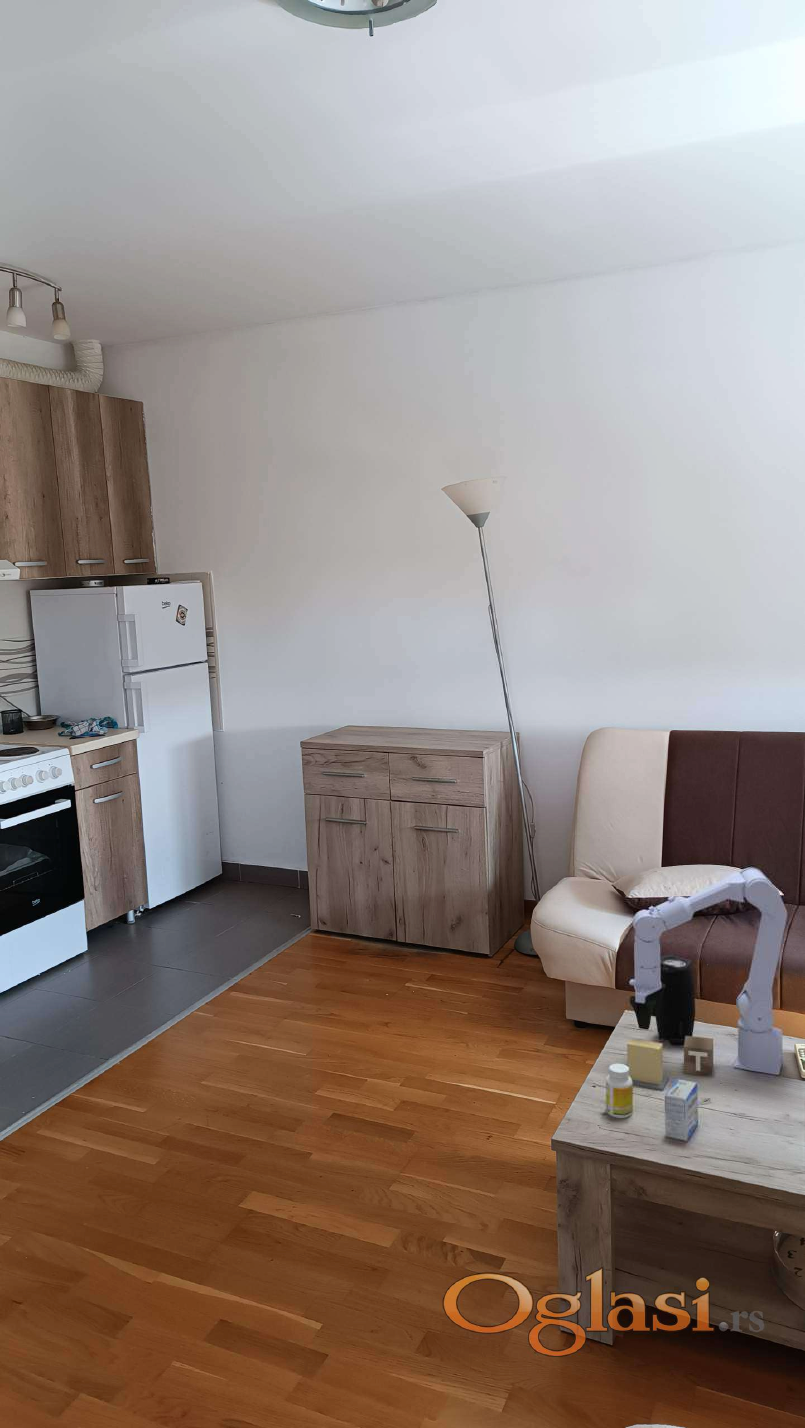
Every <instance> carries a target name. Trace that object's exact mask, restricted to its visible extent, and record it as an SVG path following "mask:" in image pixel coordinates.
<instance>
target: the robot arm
mask: <svg viewBox="0 0 805 1428" xmlns="http://www.w3.org/2000/svg"><path fill="white" fill-rule="evenodd" d="M744 898H746V900H747V902H748V903H750V904H751V905H753V906H754V907H755V908H757V909H758V910H759V911H760V912H761V917H760V923H759V927H758V932H757V938H756V942H755V947H754V950H753V951H754V952H753V956H752V961H751V965H750V970H749V975H748V979H747V981H746V982H745V983H744V985H743V988H742V991H741V992H740V993H739V995H738V996H737V997H736V1000H735V1001H736V1008H737V1010H738V1011H739V1012H740V1017H739V1019H738V1021H737V1056H736V1058H735V1061H734V1064H733V1067H734V1068H735V1069H741V1070H745V1071H753V1072H759V1073H765V1074H769V1075H770V1074H771V1075H776V1076H777V1075H779V1074H780V1072H781V1069H782V1064H783V1063H784V1055H783V1030H782V1029H780V1028H777V1027H775V1026H773V1025H774V1022H775V1016H774V1013H773V1004H774V1001H773V990H772V989H773V986H774V985H773V984H774V979H775V976H776V970H777V965H778V961H779V955H780V951H781V946H782V942H783V937H784V932H785V928H786V923H787V919H788V918H787V917H788V910H787V909H786V906H785V904H784V901H783V899H782V896H781V893H780V891H779V890H778V888H777V887H776V886H775V885H774V884H773V883H772V882H771V880H770V878H768V877H767V876H766V875H765V874H764V873H763V872H762V870H760V869H759V868H757V867H756V868H755V867H746V868H743V869H742V870H741V871H736V872H733V873H731V874H730V875H728V876H727V877H725V878H723V879H721V880H720V881H718V882H716V883H713V884H712V885H710V886H708V887H706V888H704V889H702V890H700V891H698V892H696V893H695V894H692V895H690V896H688V897H683V896H680V895H678V896H676V897H675V896H674V895H671V896H669V897H668V898H667V899H668V900H667V901H665V902H663V903H661V904H658V905H656V906H653V905H651V906H650V907H649V906H648V909H642V910H639V911H638V912H636V913H635V915H634V916H633V917H632V920H631V924H632V927H633V928H634V931H635V932H634V936H633V937H634V938H633V939H634V944H633V945H634V946H633V948H634V950H633V951H634V952H633V956H634V959H633V960H634V962H633V963H634V978H631V979H630V980H629V985H630V986H633V987H634V991H635V994H634V995H630V997H629V1004H630V1005H631V1007H632V1008H633V1011H634V1014H635V1017H636V1023H637V1025H638V1029H641V1030H647V1031H648V1030H650V1027H651V1021H652V1017H655V1018H656V1016H657V1014H658V1009H659V1004H660V999H661V996H662V993H663V991H664V989H665V984H661V972H660V958H661V944H660V938H661V936H662V934H663V932H667V931H669V930H672V929H674V928H676V927H678V926H680V925H683V924H685V923H686V922H689V921H691V920H692V918H693V916H694V913H695V912H698V911H700V910H702V909H706V908H709V907H710V906H713V905H715V904H718V903H720V902H721V903H722V902H723V901H726V900H730V901H731V900H732V901H734V902H735V901H736V902H740V903H744Z"/></svg>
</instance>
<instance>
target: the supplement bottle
mask: <svg viewBox="0 0 805 1428" xmlns="http://www.w3.org/2000/svg"><path fill="white" fill-rule="evenodd" d="M608 1071H609V1072H608V1075H607V1076H606V1078H605V1109H606V1113H607V1114H608V1115H609V1116H611V1117H614V1118H617V1119H625V1118H629V1117H630V1116H631V1115H633V1108H634V1105H633V1103H634V1100H633V1099H634V1097H633V1096H634V1095H633V1086H634V1085H633V1083H632V1079H631V1078H630V1077H629V1067H628V1065H626V1064H623V1063H613V1064H611V1065H609V1068H608Z"/></svg>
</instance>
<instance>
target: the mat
mask: <svg viewBox="0 0 805 1428" xmlns="http://www.w3.org/2000/svg"><path fill="white" fill-rule="evenodd" d="M669 1080H670V1076H667V1075H663V1080H662V1082H661V1083H660V1085H659V1084H653V1083H648V1082H642V1081H637V1080H632V1083H633V1086H634V1087H640V1088H646V1089H652V1090H656V1091H660V1092H661V1091H664V1089H665V1088H666V1085H667V1083H668V1081H669Z"/></svg>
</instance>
